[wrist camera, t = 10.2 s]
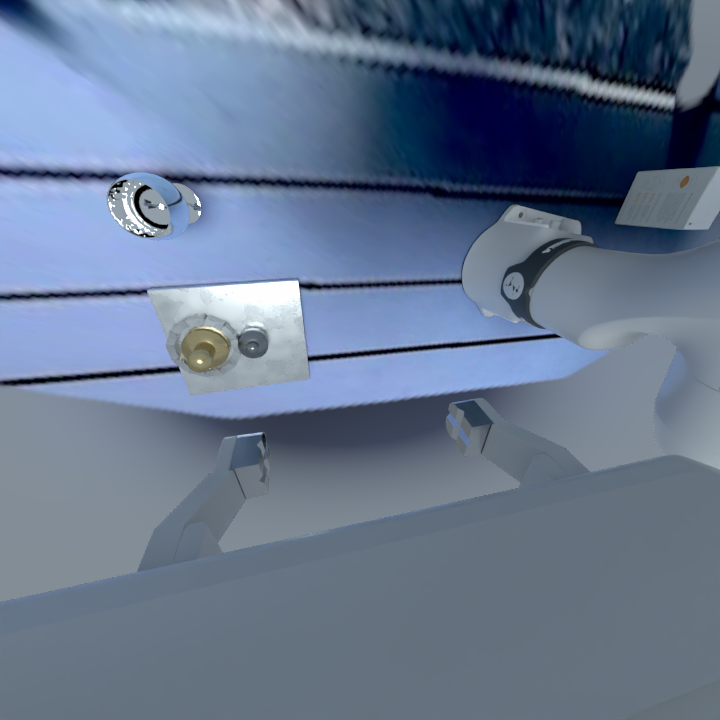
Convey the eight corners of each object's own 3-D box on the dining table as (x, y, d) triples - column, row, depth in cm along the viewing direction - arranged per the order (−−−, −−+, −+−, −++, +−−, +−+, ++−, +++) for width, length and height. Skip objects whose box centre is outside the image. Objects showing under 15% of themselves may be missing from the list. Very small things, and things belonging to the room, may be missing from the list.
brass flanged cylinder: (222, 323, 42) (215, 340, 37) (235, 359, 45) (230, 378, 40) (177, 329, 40) (163, 347, 36) (193, 365, 44) (183, 386, 39)
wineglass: (217, 220, 36) (191, 231, 26) (175, 236, 36) (133, 254, 26) (187, 168, 32) (146, 159, 23) (142, 186, 32) (79, 185, 22)
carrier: (297, 278, 42) (299, 286, 38) (309, 375, 51) (311, 389, 48) (150, 288, 38) (136, 298, 34) (192, 391, 47) (185, 407, 44)
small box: (635, 224, 51) (707, 231, 42) (612, 223, 50) (682, 231, 41) (661, 172, 47) (747, 168, 38) (637, 170, 46) (720, 165, 37)
